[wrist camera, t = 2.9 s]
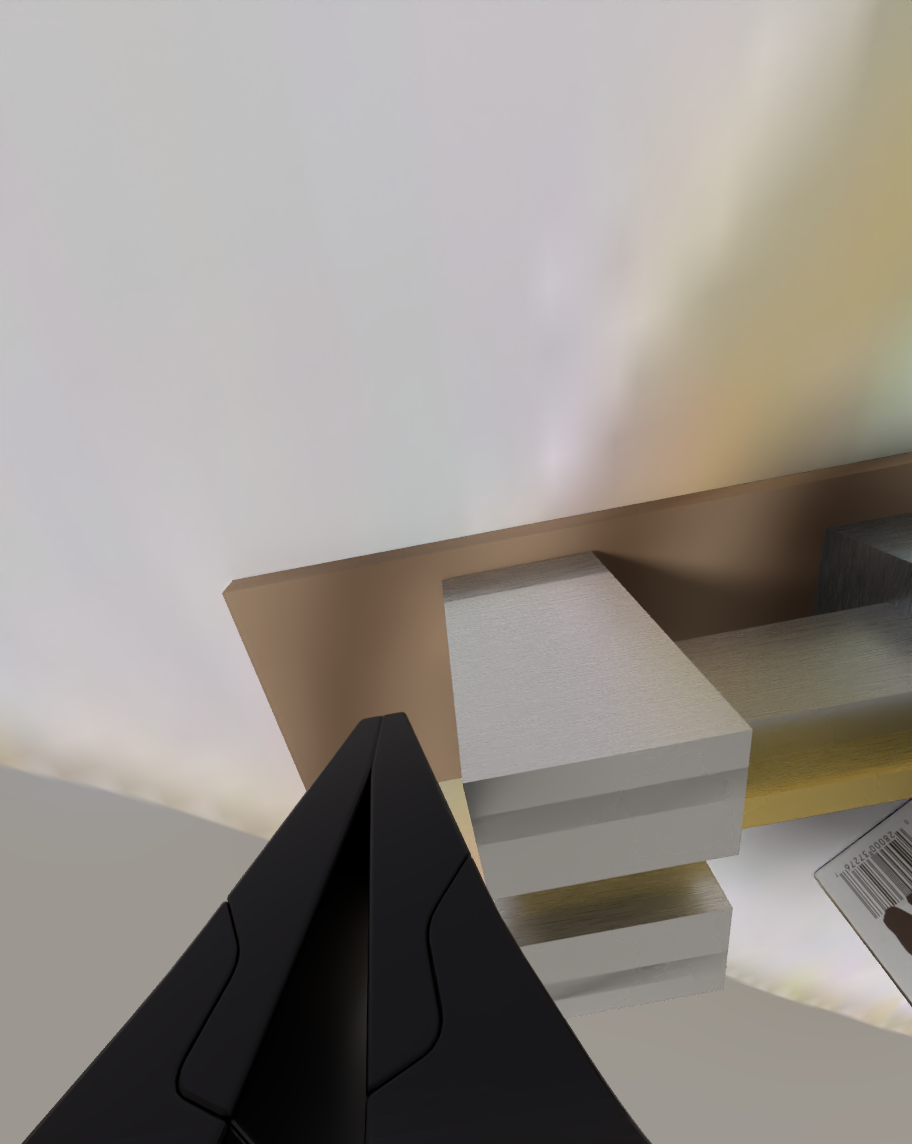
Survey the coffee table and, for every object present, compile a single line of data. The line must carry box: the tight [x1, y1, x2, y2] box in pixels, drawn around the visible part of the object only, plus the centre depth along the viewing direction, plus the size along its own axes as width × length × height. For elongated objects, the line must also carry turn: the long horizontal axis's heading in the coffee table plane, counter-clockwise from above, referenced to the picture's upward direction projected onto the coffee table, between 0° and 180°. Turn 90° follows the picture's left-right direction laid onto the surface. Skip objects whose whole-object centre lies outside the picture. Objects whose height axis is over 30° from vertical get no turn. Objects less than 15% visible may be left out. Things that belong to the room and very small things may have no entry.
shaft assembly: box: [674, 512, 912, 829], centre depth 11 cm, size 13×5×6 cm, turn 100°
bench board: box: [222, 452, 912, 791], centre depth 14 cm, size 20×8×1 cm, turn 100°
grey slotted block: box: [442, 552, 753, 1018], centre depth 11 cm, size 4×7×7 cm, turn 10°
